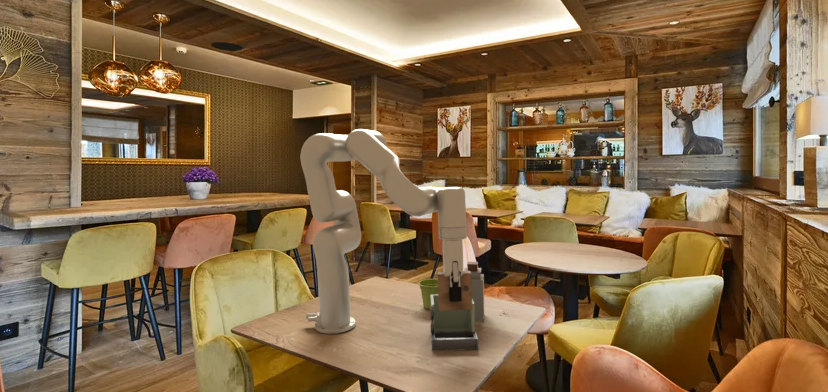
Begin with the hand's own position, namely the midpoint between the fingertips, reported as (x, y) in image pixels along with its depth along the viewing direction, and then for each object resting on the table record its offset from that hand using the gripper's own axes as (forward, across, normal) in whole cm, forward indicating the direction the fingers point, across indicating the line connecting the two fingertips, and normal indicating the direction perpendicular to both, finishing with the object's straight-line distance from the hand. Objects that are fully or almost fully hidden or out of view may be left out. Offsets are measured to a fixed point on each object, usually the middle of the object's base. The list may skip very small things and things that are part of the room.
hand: (454, 298), depth 113 cm
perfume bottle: (+13, -21, +7) cm, 26 cm away
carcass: (+13, -7, -1) cm, 15 cm away
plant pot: (+13, -32, -6) cm, 35 cm away
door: (+3, 0, 0) cm, 3 cm away
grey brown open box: (+13, 0, -1) cm, 13 cm away
